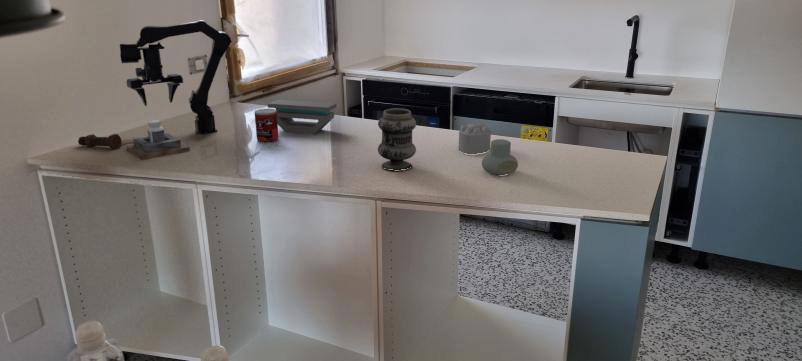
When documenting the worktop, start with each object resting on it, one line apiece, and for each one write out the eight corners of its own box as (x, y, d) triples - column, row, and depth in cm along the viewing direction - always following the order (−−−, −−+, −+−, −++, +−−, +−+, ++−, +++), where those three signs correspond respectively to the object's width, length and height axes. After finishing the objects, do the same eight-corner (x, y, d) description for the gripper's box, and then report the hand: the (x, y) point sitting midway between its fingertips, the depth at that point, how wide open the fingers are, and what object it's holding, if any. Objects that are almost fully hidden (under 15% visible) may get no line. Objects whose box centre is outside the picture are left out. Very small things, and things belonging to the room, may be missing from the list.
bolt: (84, 150, 214) (120, 151, 211) (73, 147, 210) (110, 148, 206) (87, 134, 215) (123, 135, 212) (76, 131, 211) (113, 132, 207)
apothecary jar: (403, 175, 181) (403, 117, 175) (370, 168, 187) (369, 112, 181) (423, 164, 191) (423, 109, 185) (391, 159, 197) (390, 105, 191)
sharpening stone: (337, 130, 232) (336, 103, 228) (329, 136, 225) (328, 107, 221) (279, 126, 239) (277, 99, 235) (269, 131, 232) (267, 103, 228)
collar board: (172, 140, 219) (171, 131, 218) (189, 150, 207) (188, 140, 206) (127, 148, 209) (125, 138, 208) (142, 159, 198) (140, 148, 196)
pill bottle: (169, 144, 209) (165, 120, 206) (159, 148, 205) (155, 123, 202) (157, 143, 211) (153, 119, 208) (146, 147, 206) (142, 122, 203)
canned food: (252, 142, 217) (250, 112, 213) (265, 136, 224) (263, 107, 220) (270, 144, 214) (268, 114, 211) (282, 138, 221) (280, 109, 218)
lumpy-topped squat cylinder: (491, 146, 211) (493, 122, 208) (485, 157, 199) (486, 131, 196) (463, 144, 214) (463, 120, 211) (454, 154, 202) (455, 129, 199)
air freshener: (491, 179, 178) (492, 147, 174) (476, 171, 185) (478, 140, 181) (521, 174, 182) (524, 143, 178) (506, 166, 189) (508, 136, 186)
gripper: (170, 57, 228) (175, 97, 233) (118, 61, 217) (125, 104, 222) (181, 60, 220) (186, 102, 225) (128, 65, 209) (135, 109, 214)
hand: (158, 104), depth 222 cm, fingers open, 9 cm apart
